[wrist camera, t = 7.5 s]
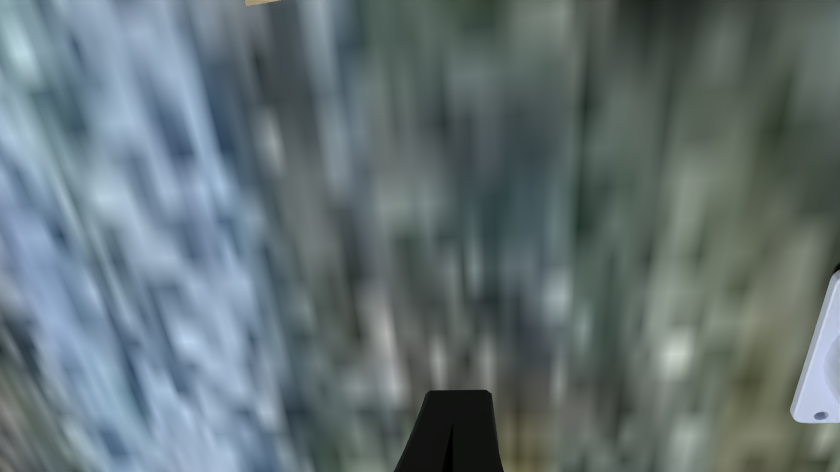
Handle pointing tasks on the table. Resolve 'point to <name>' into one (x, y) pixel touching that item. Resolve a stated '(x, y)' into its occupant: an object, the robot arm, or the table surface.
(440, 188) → the table surface
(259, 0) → the can bracket
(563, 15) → the table surface
